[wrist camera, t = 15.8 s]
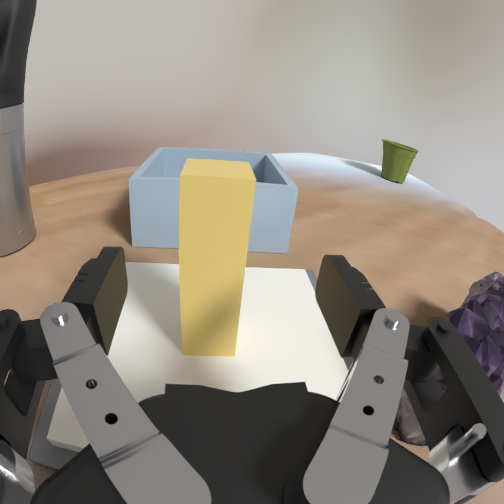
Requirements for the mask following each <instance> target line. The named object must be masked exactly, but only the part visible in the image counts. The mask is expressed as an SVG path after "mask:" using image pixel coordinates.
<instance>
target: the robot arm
mask: <svg viewBox="0 0 504 504" xmlns="http://www.w3.org/2000/svg"><path fill="white" fill-rule="evenodd" d="M35 10H36V0H0V256H4V255H7V254H10V253H13V252H15V251H17V250H19V249H21V248H23V247H24V246H26V245H27V244H28V243H29V242H30V241H32V239H33V238H34V237H35V234H36V229H35V224H34V219H33V213H32V207H31V200H30V193H29V186H28V178H27V168H26V157H25V143H24V118H23V117H24V114H23V106H24V105H23V104H22V103H23V102H24V83H25V70H26V59H27V53H28V46H29V41H30V36H31V31H32V26H33V21H34V16H35ZM127 291H128V280H127V272H126V265H125V256H124V250H123V248H122V247H103V249H102V251H101V252H100V254H99V256H98V257H97V259H93V258H92V259H90V260H89V261H88V262H86V263H85V264H84V265H83V266H82V267H81V269H80V271H79V272H78V275H77V276H76V277H75V279H74V281H73V282H72V284H71V286H70V288H69V289H68V291H67V293H66V295H65V296H64V298H63V300H62V302H59V303H55V304H53V305H50V306H49V307H47V308H46V309H45V310H44V311H43V312H42V314H41V317H40V319H35V320H27V321H21V319H20V317H19V314H18V313H17V312H16V311H14V310H11V309H6V310H2V311H0V504H453V503H454V504H463V503H465V502H467V501H469V500H470V499H472V498H474V497H475V496H477V495H479V494H480V493H482V492H484V491H485V490H487V489H489V488H490V487H492V486H493V485H495V484H496V483H498V482H499V481H501V480H502V479H504V403H503V401H502V399H501V397H500V396H499V394H498V392H497V390H496V389H495V387H494V385H493V384H492V382H491V380H490V379H489V377H488V375H487V374H486V372H485V371H484V369H483V367H482V366H481V364H480V363H479V361H478V360H477V358H476V357H475V355H474V354H473V352H472V351H471V349H470V348H469V346H468V345H467V343H466V342H465V340H464V339H463V337H462V336H461V334H460V333H459V332H458V330H457V329H456V327H455V326H454V325H453V324H452V323H451V322H449V321H448V320H446V319H443V318H440V317H433V318H431V319H430V320H429V321H428V323H427V325H426V327H420V326H414V325H410V324H409V321H408V319H407V318H406V317H405V316H404V315H403V314H402V313H400V312H398V311H396V310H394V309H390V308H386V307H385V305H384V304H383V302H382V301H381V299H380V298H379V296H378V295H377V294H376V292H375V291H374V290H373V288H372V286H371V285H370V283H368V281H367V279H366V278H365V276H364V275H363V274H362V273H361V272H359V271H358V270H357V269H356V268H354V267H351V266H350V264H349V263H348V261H347V260H346V258H345V257H344V256H343V255H325V256H324V257H323V260H322V264H321V268H320V272H319V276H318V280H317V283H316V288H315V297H316V301H317V303H318V306H319V308H320V310H321V312H322V315H323V317H324V319H325V322H326V324H327V326H328V328H329V331H330V333H331V335H332V338H333V340H334V342H335V345H336V347H337V349H338V352H339V354H340V357H341V358H344V357H353V359H354V360H353V362H352V364H351V367H350V369H349V371H348V373H347V376H346V378H345V380H344V382H343V385H342V387H341V389H340V391H339V393H338V395H337V397H336V400H334V399H332V398H330V397H327V396H325V395H322V394H319V393H314V392H309V391H308V390H307V386H306V383H305V382H295V383H280V384H270V385H267V386H263V387H259V388H255V389H251V390H247V391H243V392H231V391H226V390H221V389H216V388H212V387H207V386H203V385H186V384H165V394H159V395H155V396H151V397H149V398H146V399H144V400H142V401H140V402H138V403H137V401H136V400H135V399H134V397H133V396H132V394H131V393H130V391H129V390H128V388H127V387H126V385H125V384H124V382H123V381H122V379H121V378H120V376H119V375H118V373H117V372H116V370H115V368H114V367H113V365H112V364H111V362H110V360H109V359H108V357H107V356H108V354H109V351H110V347H111V344H112V340H113V337H114V334H115V330H116V327H117V324H118V321H119V318H120V315H121V312H122V308H123V305H124V302H125V299H126V296H127ZM439 367H440V369H441V371H442V372H443V374H444V376H445V378H446V380H447V388H446V391H445V393H444V392H443V390H442V388H441V386H440V384H439V382H438V380H437V379H436V377H435V375H434V374H435V372H436V371H437V369H438V368H439ZM9 370H10V373H9V375H8V378H7V381H6V383H5V386H4V382H5V379H6V376H7V374H8V371H9ZM51 379H59V380H60V383H61V385H62V387H63V390H64V392H65V394H66V397H67V399H68V401H69V403H70V405H71V407H72V410H73V412H74V414H75V416H76V418H77V420H78V422H79V424H80V426H81V428H82V430H83V432H84V433H85V435H86V437H87V439H88V441H89V444H88V445H87V446H86V447H84V448H83V449H82V450H81V451H80V452H79V453H77V454H76V455H75V456H74V457H73V458H72V459H70V460H69V461H68V462H67V463H66V464H65V465H63V466H62V467H61V468H60V469H59V470H57V471H56V472H55V473H54V474H53V475H51V476H50V477H49V478H48V479H47V480H45V481H44V482H43V483H42V484H41V485H40V486H39V487H38V488H37V489H36V490H35V483H34V475H33V471H32V468H31V466H30V465H29V463H28V462H27V461H26V457H27V451H28V446H29V441H30V437H31V432H32V428H33V424H34V420H35V416H36V412H37V408H38V404H39V401H40V397H41V393H42V390H43V387H44V383H45V380H51ZM403 388H404V390H405V392H406V394H407V397H408V399H409V401H410V403H411V406H412V408H413V410H414V413H415V415H416V418H417V420H418V422H419V425H420V427H421V430H422V432H423V435H424V437H425V440H426V442H427V445H428V447H429V450H430V454H429V463H428V462H426V461H425V460H423V459H421V458H420V457H418V456H417V455H415V454H414V453H412V452H411V451H409V450H407V449H406V448H404V447H403V446H401V445H400V444H398V443H397V442H395V441H394V440H392V439H391V438H390V434H391V431H392V428H393V424H394V421H395V417H396V414H397V410H398V406H399V402H400V398H401V394H402V390H403Z"/></svg>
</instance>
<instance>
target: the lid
mask: <svg viewBox="0 0 504 504" xmlns="http://www.w3.org/2000/svg"><path fill="white" fill-rule="evenodd" d="M255 185H256V178H255V175H254V173H253V171H252V168H251V166H250V163H249V162H241V161H228V160H211V159H191V158H187V160H186V162H185V165H184V167H183V169H182V172H181V174H180V197H179V264H159V263H139V262H125V265H126V272H127V280H128V291H127V296H126V299H125V302H124V305H123V308H122V312H121V315H120V318H119V321H118V324H117V327H116V330H115V334H114V337H113V340H112V344H111V347H110V351H109V354H108V356H107V357H108V359H109V360H110V362H111V364H112V365H113V367H114V368H115V370H116V372H117V373H118V375H119V376H120V378H121V379H122V381H123V382H124V384H125V385H126V387H127V388H128V390H129V391H130V393H131V394H132V396H133V397H134V399H135V400H136V401H137V403H138V402H140V401H142V400H144V399H146V398H149V397H151V396H155V395H159V394H165V384H186V385H203V386H207V387H212V388H216V389H221V390H226V391H231V392H243V391H247V390H251V389H255V388H259V387H263V386H267V385H270V384H280V383H295V382H305V383H306V386H307V390H308V391H309V392H314V393H319V394H322V395H325V396H327V397H330V398H332V399H334V400H336V397H337V395H338V393H339V391H340V389H341V387H342V385H343V382H344V380H345V378H346V376H347V373H348V369H347V367H346V364H345V362H344V359H343V358H341V357H340V354H339V352H338V349H337V347H336V345H335V342H334V340H333V338H332V335H331V333H330V331H329V328H328V326H327V324H326V322H325V319H324V317H323V315H322V312H321V310H320V308H319V306H318V303H317V301H316V297H315V291H314V289H313V286H312V284H311V282H310V280H309V277H308V275H307V273H306V271H305V269H277V268H250V267H246V259H247V250H248V242H249V234H250V226H251V217H252V209H253V201H254V193H255ZM47 439H48V440H49V441H50V443H51V444H52V445H53V446H57V447H61V448H64V449H68V450H72V451H76V452H80V451H81V450H82V449H83V448H84V447H86V446H87V445H88V444H89V441H88V439H87V437H86V435H85V433H84V432H83V430H82V428H81V426H80V424H79V422H78V420H77V418H76V416H75V414H74V412H73V410H72V407H71V405H70V403H69V401H68V399H67V397H66V394H65V392H64V390H63V387H62V388H61V391H60V394H59V398H58V401H57V404H56V407H55V410H54V414H53V417H52V421H51V424H50V428H49V431H48V435H47Z"/></svg>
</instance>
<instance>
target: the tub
mask: <svg viewBox="0 0 504 504" xmlns="http://www.w3.org/2000/svg"><path fill="white" fill-rule="evenodd" d="M187 158H191V159H211V160H228V161H241V162H249V163H250V166H251V168H252V171H253V173H254V175H255V178H256V185H255V193H254V201H253V209H252V217H251V226H250V234H249V242H248V250H247V252H266V253H287V250H288V245H289V239H290V234H291V229H292V223H293V218H294V212H295V207H296V201H297V196H298V190H299V188H298V187H297V186H296V185H295V183H294V182H293V181H292V179H291V178H290V177H289V176H288V174H287V173H286V172H285V170H284V169H283V168H282V167H281V165H280V164H279V163H278V162H277V160H276V159H275V158H274V157H273V155H272V154H267V153H257V152H246V151H233V150H218V149H200V148H171V147H159V148H158V149H157V150H156V151H155V152H154V153H153V154H152V155H151V156H150V157H149V158H148V159H147V160H146V161H145V162H144V163H143V164H142V165H141V166H140V168H139V169H138V170H137V171H136V172H135V173H134V174H133V175H132V176H131V177H130V179H129V200H130V220H131V234H132V246H134V247H156V248H178V249H179V197H180V174H181V172H182V169H183V167H184V165H185V162H186V160H187Z"/></svg>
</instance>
